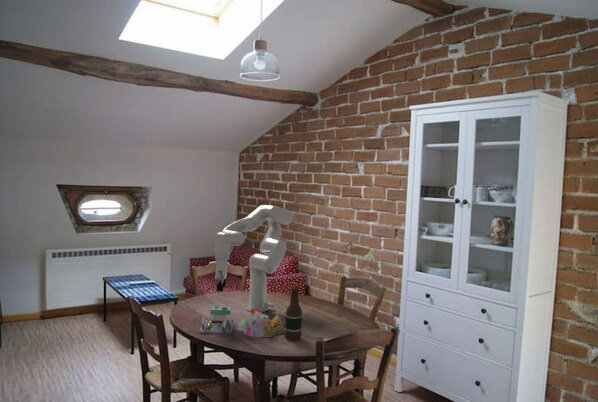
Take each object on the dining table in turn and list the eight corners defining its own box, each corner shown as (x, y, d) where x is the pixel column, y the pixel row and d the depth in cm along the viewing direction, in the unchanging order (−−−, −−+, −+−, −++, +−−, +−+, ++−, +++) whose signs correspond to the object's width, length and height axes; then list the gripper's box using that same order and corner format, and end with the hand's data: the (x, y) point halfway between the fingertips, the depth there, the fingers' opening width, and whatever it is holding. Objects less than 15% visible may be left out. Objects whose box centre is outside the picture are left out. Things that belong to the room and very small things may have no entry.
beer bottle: (284, 335, 214) (286, 285, 213) (300, 335, 215) (302, 285, 214) (285, 341, 206) (287, 289, 205) (301, 341, 207) (304, 289, 206)
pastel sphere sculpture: (293, 327, 227) (294, 309, 226) (271, 342, 205) (272, 322, 205) (250, 319, 237) (251, 302, 236) (225, 332, 215) (226, 313, 215)
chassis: (233, 325, 224) (233, 314, 224) (230, 334, 212) (231, 321, 212) (203, 324, 224) (203, 313, 223) (198, 333, 212) (199, 320, 211)
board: (231, 311, 236) (231, 305, 236) (230, 315, 230) (230, 309, 230) (212, 311, 236) (212, 305, 235) (210, 314, 230) (210, 308, 229)
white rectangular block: (228, 318, 235) (229, 312, 235) (228, 321, 231) (228, 314, 231) (213, 318, 235) (213, 311, 234) (212, 320, 231) (212, 313, 231)
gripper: (217, 253, 240) (216, 284, 241) (212, 259, 222) (211, 293, 223) (231, 253, 240) (230, 285, 241) (227, 259, 223) (226, 293, 224)
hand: (221, 288), depth 232 cm, fingers open, 9 cm apart
